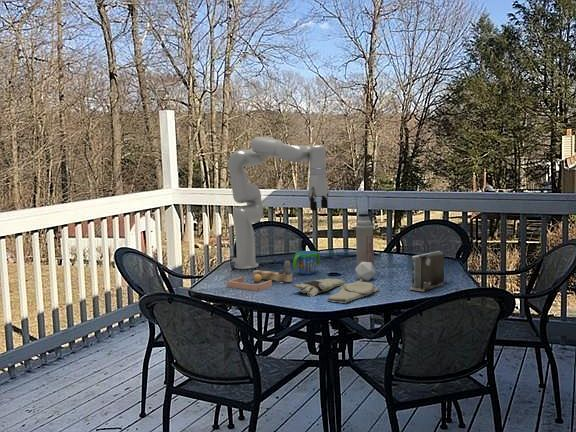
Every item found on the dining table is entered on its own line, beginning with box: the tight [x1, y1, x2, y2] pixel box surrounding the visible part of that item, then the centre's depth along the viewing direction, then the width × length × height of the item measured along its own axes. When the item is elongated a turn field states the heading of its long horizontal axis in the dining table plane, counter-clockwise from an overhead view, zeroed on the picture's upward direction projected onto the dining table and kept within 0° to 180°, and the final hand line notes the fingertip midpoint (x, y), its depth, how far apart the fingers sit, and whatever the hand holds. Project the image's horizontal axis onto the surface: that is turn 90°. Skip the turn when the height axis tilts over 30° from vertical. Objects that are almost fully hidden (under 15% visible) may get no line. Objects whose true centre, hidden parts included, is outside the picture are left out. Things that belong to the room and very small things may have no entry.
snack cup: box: [292, 250, 321, 275], centre depth 272 cm, size 16×10×10 cm
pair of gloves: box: [292, 278, 380, 304], centre depth 234 cm, size 30×26×5 cm
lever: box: [252, 260, 294, 283], centre depth 259 cm, size 20×3×9 cm, turn 56°
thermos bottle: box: [355, 213, 375, 268], centre depth 267 cm, size 8×8×28 cm
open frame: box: [226, 276, 273, 292], centre depth 251 cm, size 17×10×2 cm, turn 56°
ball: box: [253, 274, 262, 283], centre depth 259 cm, size 4×4×4 cm
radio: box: [409, 250, 446, 292], centre depth 238 cm, size 23×9×15 cm, turn 133°
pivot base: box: [274, 280, 288, 284], centre depth 257 cm, size 6×6×1 cm
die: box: [354, 262, 377, 282], centre depth 255 cm, size 8×9×10 cm
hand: (319, 209), depth 265 cm, fingers open, 9 cm apart
